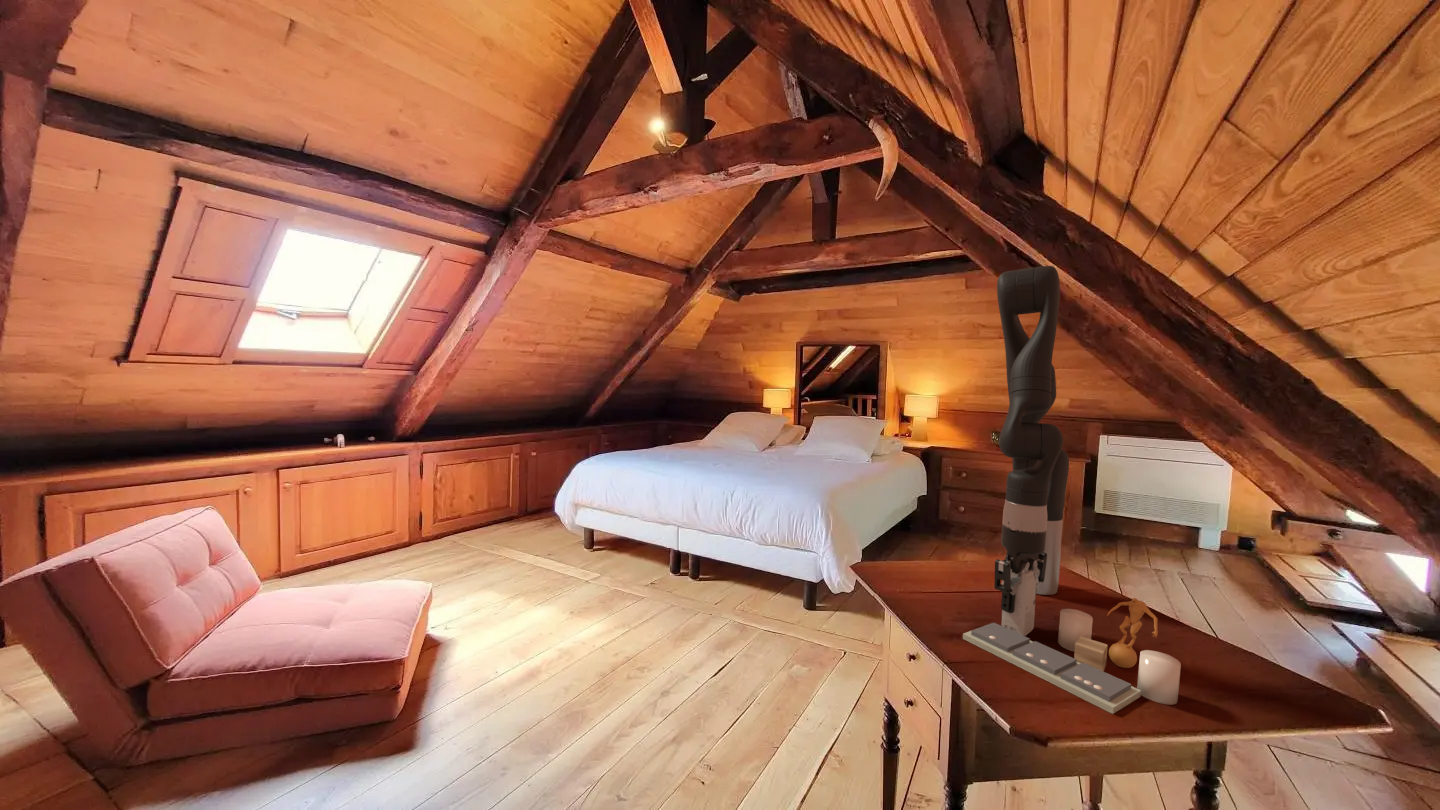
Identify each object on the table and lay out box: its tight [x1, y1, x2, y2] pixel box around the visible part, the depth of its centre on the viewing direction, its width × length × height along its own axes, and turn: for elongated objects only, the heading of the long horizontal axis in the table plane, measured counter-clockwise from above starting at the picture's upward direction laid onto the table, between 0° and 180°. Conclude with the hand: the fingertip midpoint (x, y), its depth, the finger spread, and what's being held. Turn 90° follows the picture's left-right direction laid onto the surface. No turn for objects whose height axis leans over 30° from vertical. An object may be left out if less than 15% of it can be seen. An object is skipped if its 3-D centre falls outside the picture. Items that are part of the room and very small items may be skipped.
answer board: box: [962, 622, 1142, 715], centre depth 93 cm, size 9×25×2 cm, turn 31°
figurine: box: [1106, 597, 1159, 669], centre depth 94 cm, size 8×6×12 cm
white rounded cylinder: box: [1057, 608, 1094, 653], centre depth 100 cm, size 5×5×6 cm
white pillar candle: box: [1136, 649, 1182, 706], centre depth 86 cm, size 5×5×6 cm
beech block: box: [1073, 636, 1109, 672], centre depth 94 cm, size 4×4×4 cm
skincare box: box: [1001, 570, 1037, 637], centre depth 106 cm, size 6×4×12 cm
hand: (1018, 607), depth 106 cm, fingers closed on skincare box, 6 cm apart
